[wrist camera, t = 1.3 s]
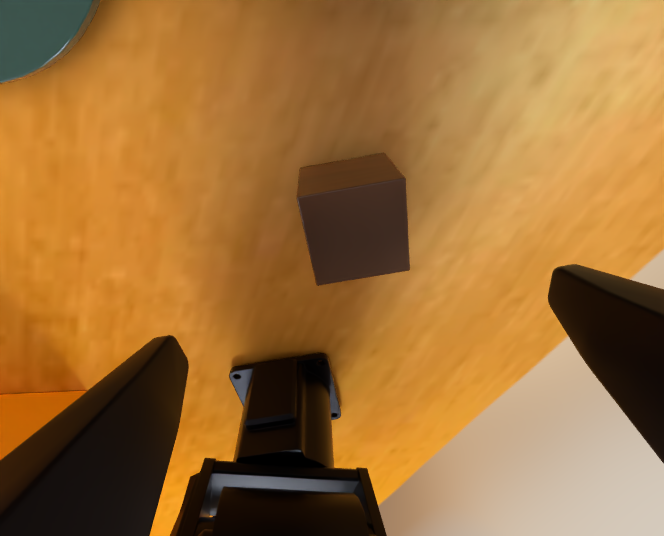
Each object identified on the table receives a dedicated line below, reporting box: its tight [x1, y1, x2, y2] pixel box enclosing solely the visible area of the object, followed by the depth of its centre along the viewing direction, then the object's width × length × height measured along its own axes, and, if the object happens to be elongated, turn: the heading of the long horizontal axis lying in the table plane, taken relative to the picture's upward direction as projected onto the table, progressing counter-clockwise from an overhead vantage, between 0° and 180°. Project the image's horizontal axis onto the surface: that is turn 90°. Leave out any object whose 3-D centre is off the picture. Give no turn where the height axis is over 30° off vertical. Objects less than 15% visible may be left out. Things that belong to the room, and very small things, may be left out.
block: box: [297, 153, 410, 286], centre depth 15 cm, size 4×4×4 cm
